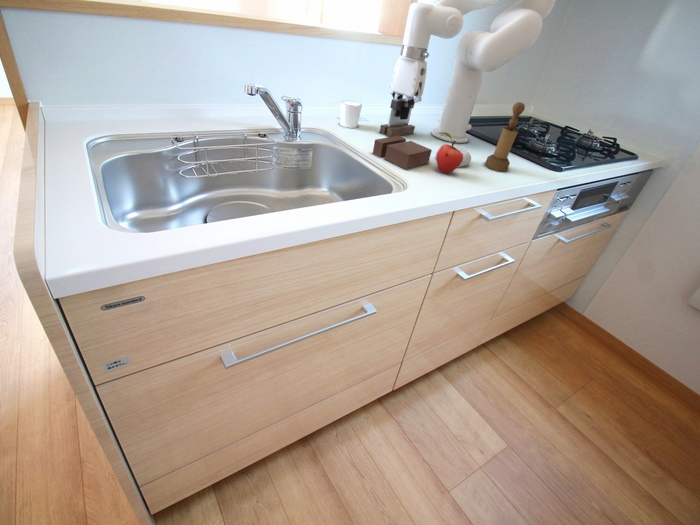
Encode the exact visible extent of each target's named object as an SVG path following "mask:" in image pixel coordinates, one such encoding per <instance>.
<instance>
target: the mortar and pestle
mask: <svg viewBox="0 0 700 525" xmlns="http://www.w3.org/2000/svg"><path fill="white" fill-rule="evenodd" d="M525 110H526V106H525V104H524V102H521V101H518V102H515V103H514V104H513V106H512V116H511V118H510V119H509V121H508V126H503V128H502V131H501V133H500V135H499V138H498V141H497V144H496V146H495V149H494V152H493V154H490V155H488V156H487V158H486V160H485V163H484V165H485V167H487V168H488V169H490V170H493V171H496V172H507V171H508V169H509V166H510V164H511V162H510V160H509V154H510V152H511V149H512V147H513V144H514V142H515V139H516V138H517V135H518V133H519V130H518V129H516V126H517V125H518V123H519V117H520V116H521V115H522V113H524V111H525Z"/></svg>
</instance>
